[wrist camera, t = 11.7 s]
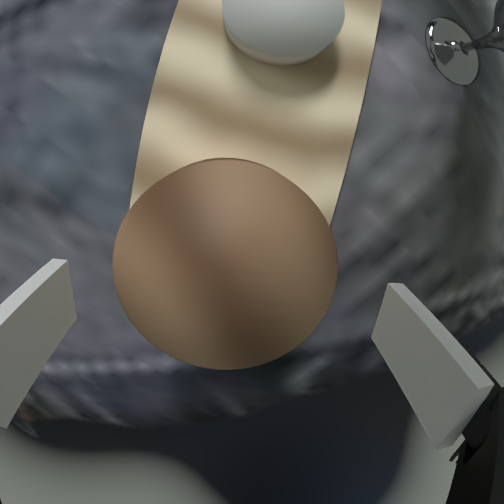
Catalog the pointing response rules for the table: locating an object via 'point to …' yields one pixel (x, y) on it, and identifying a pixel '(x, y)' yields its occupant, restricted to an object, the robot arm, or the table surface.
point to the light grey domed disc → (282, 28)
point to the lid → (225, 264)
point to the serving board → (256, 103)
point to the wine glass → (462, 46)
